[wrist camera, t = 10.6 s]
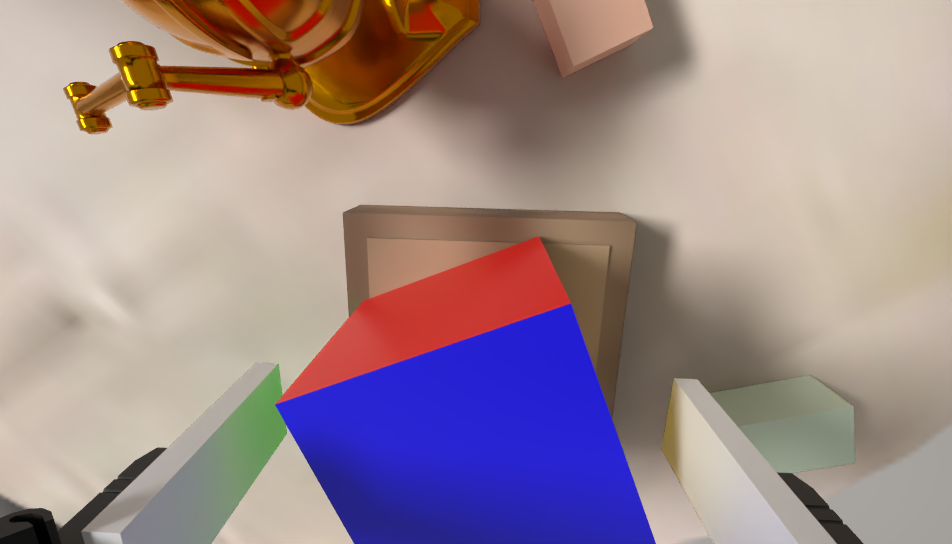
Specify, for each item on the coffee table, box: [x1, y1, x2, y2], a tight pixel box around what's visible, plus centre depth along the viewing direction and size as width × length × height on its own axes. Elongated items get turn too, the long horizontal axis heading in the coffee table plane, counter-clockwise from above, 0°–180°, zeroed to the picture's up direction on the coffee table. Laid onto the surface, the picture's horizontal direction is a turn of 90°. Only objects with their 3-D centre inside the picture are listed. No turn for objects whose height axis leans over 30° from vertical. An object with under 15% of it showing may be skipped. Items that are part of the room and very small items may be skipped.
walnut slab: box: [343, 205, 636, 418], centre depth 21 cm, size 12×12×3 cm
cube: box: [275, 236, 656, 544], centre depth 16 cm, size 8×8×8 cm
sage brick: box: [709, 375, 855, 473], centre depth 22 cm, size 6×3×3 cm, turn 103°
